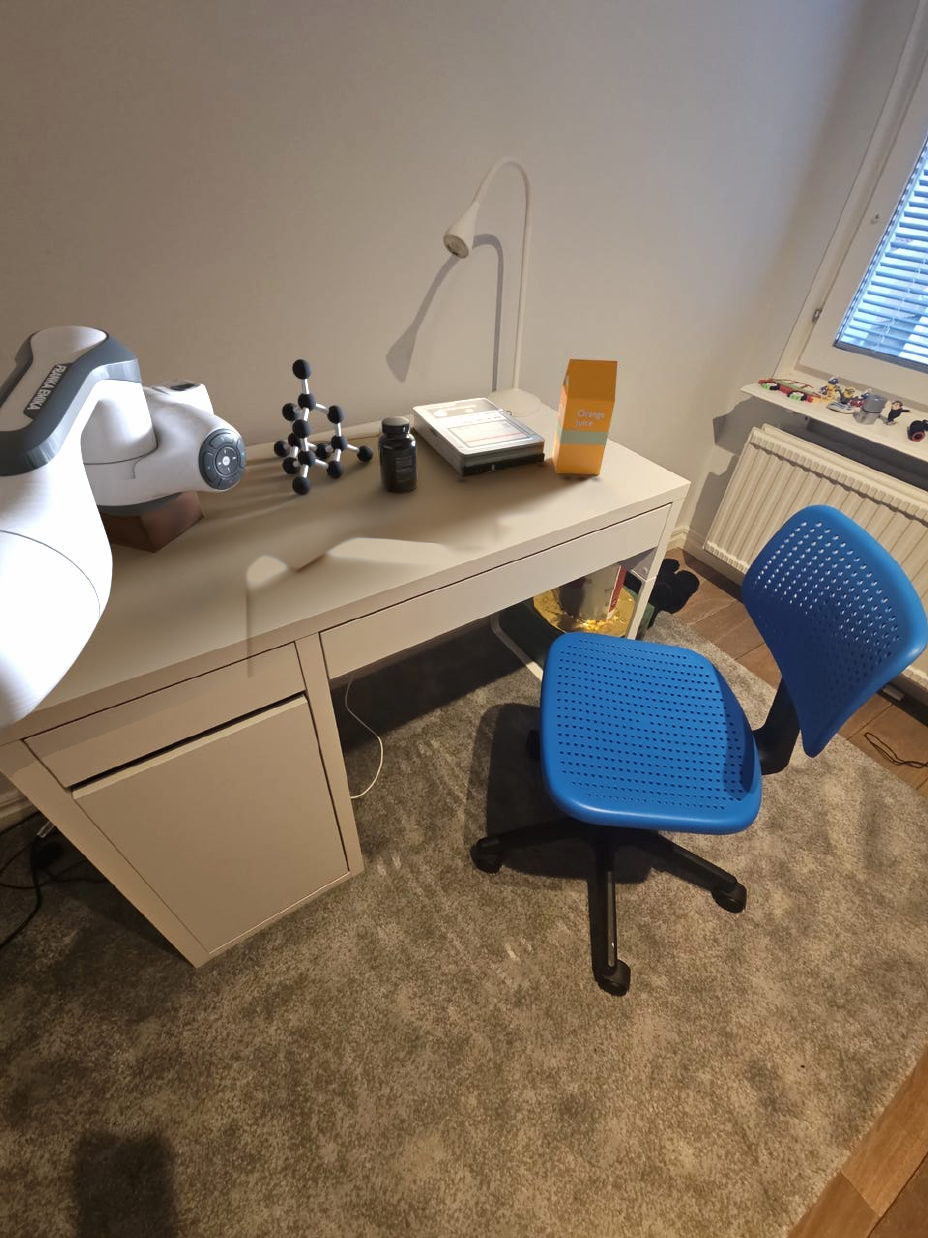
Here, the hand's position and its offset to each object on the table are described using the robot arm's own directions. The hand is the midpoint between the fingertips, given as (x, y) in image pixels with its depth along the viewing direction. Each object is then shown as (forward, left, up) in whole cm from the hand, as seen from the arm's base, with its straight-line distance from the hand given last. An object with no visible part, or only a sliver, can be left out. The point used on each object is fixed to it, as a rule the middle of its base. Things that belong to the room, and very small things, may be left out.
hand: (96, 400), depth 74 cm
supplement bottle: (+40, +15, -20) cm, 47 cm away
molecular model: (+22, +22, -20) cm, 37 cm away
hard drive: (+55, +35, -20) cm, 68 cm away
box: (+1, -1, -20) cm, 20 cm away
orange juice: (+75, +25, -20) cm, 81 cm away
